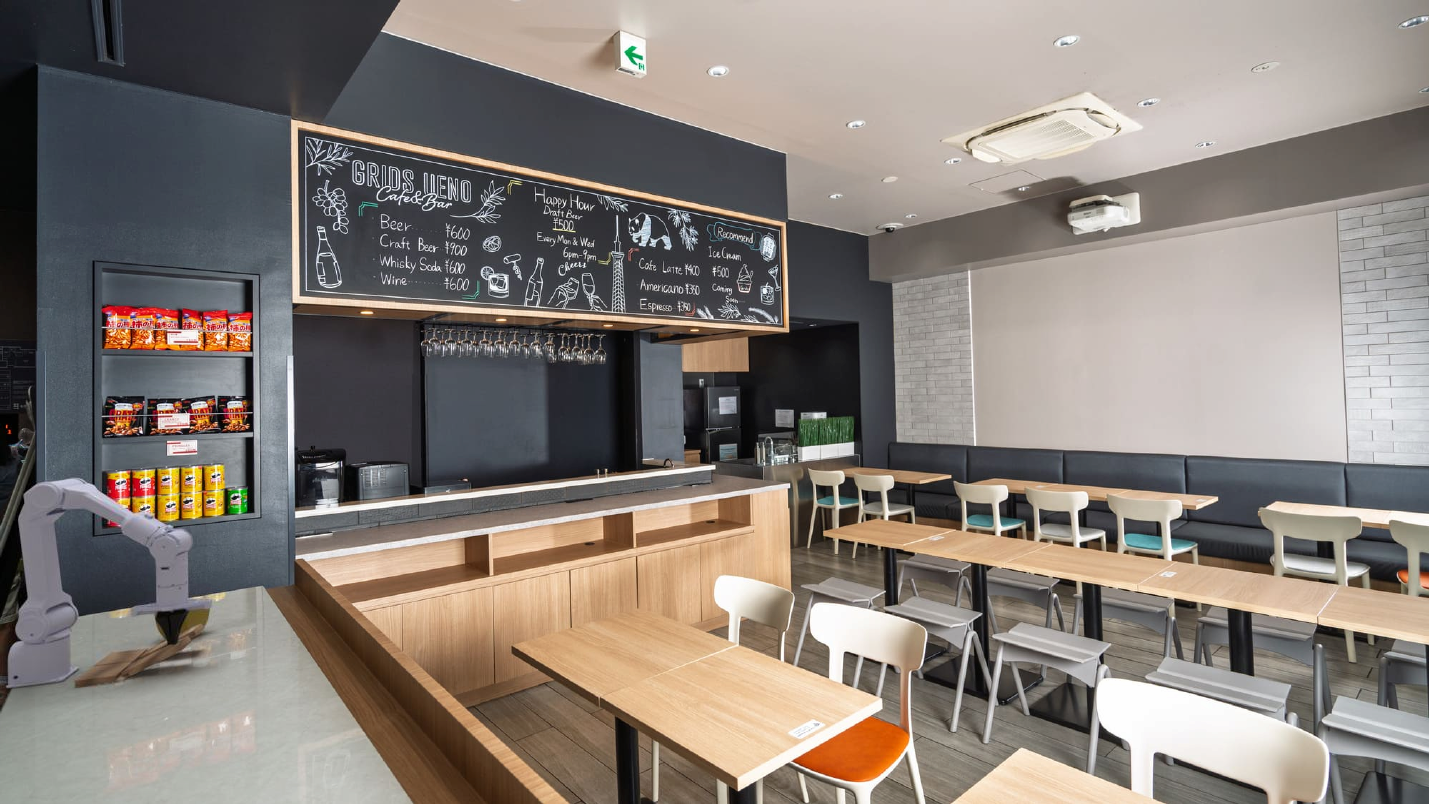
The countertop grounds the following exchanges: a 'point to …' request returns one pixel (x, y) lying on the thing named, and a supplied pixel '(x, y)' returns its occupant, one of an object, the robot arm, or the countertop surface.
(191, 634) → the plank far
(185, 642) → the plank near
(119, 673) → the laid floor
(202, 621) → the flower pot
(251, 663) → the countertop surface
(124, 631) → the countertop surface
